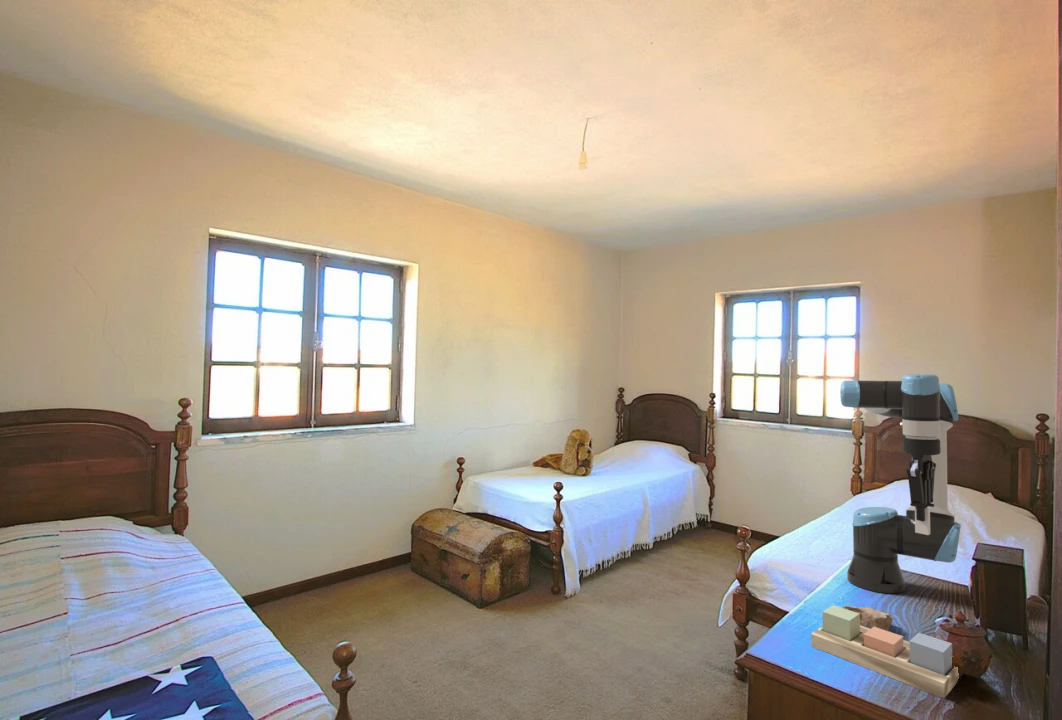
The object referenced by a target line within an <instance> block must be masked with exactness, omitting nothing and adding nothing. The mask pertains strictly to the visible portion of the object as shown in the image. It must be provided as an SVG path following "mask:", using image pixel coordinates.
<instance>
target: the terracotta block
mask: <svg viewBox="0 0 1062 720" xmlns="http://www.w3.org/2000/svg"><path fill="white" fill-rule="evenodd" d="M903 640H904V636H903V635H900V634H898V633H894V632H891V631H889V630H888V631H886V630H883V629H880V628H877V627H872V628H871V629H870V630H869V631H867V632H866V633H865V634H864V647H867V648H870V649H873V650H875V651H878V652H881V653H884V654H886V655H889V656H892V657H895V658H896V657H897V656H898V655H899V654H901V653H902V652H903V651H904V648H903Z"/></svg>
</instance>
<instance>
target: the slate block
mask: <svg viewBox="0 0 1062 720" xmlns="http://www.w3.org/2000/svg"><path fill="white" fill-rule="evenodd" d="M909 642H910V663H911V664H914V665H917V666H919V667H922V668H925V669H928V670H930V671H933V672H936V673H939V674H941V675H944V676H947V675H946V674H947V673H948V671H949V670H950V669H951V668H952V657H953V643H952V642H949V641H946V640H942V639H940V638H936V637H934V636H930V635H927V634H925V633H922V632H918V633H917V634H916V635H914V636H913V637H912V638H911V639H910V640H909Z"/></svg>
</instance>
